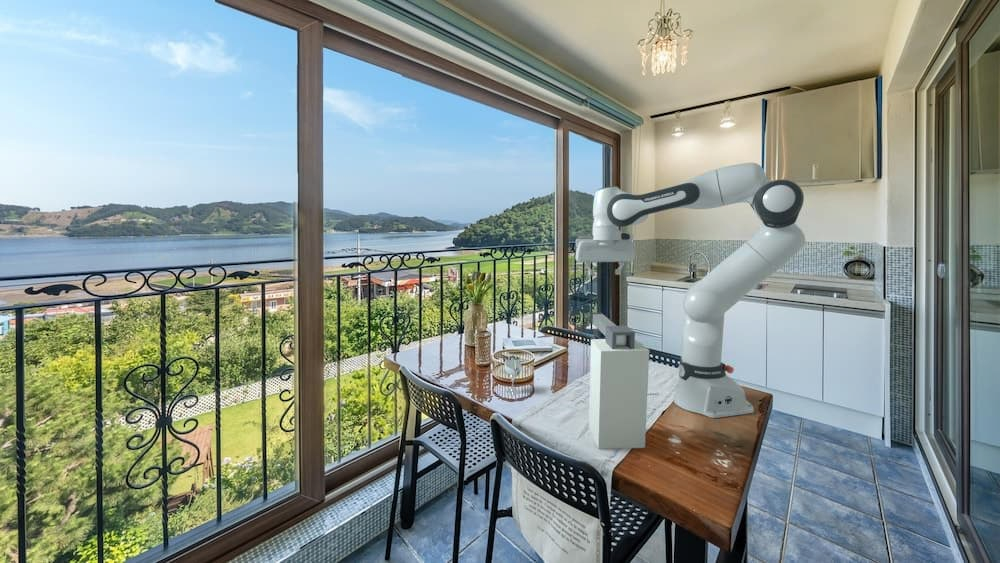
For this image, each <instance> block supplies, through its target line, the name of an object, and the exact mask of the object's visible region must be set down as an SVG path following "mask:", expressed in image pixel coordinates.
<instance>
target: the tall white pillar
mask: <svg viewBox="0 0 1000 563" xmlns="http://www.w3.org/2000/svg"><path fill="white" fill-rule="evenodd" d="M617 335H627V346H616V336H617ZM604 337H605V338H597V339H596V338H594V339H593V338H591V339H590V357H589V358H590V364H589V366H590V367H589V404H588V406H589V407H588V408H589V409H588V411H589V412H588V430H589V432H590V435H591V436H592V439H593V441H594V443H595V444H596V447H597V449H598V450H606V449H607V450H609V449H610V448H616V449H644V448H646V431H647V414H648V413H647V410H648V409H647V407H648V389H649V388H648V387H649V386H648V385H649V368H650V367H649V363H650V349H648V348H647V347H646V346H645V345H643V344H642V343H641V342H640V341H638V339H636V338H635V337H636V331H634V330H633V329H632V328H631V327H629V326H628V325H616V326H606V333H605V335H604Z"/></svg>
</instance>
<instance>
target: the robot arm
mask: <svg viewBox="0 0 1000 563" xmlns="http://www.w3.org/2000/svg"><path fill="white" fill-rule="evenodd" d="M804 196H805V195H804V192H803V190H802V188H801V187H800V186H799V184H797V183H796V182H794V181H792V180H788V179H775V180H772V181H769V180H768V179H767V174H766V172H765V169H764V168H763V167H762V166H761V165H760V164H758V163H756V162H746V163H739V164H738V163H737V164H733V165H727V166H724V167H722V166H721V167H720V168H716V169H711V170H710V171H706V172H704V173H701V174H699V175H696V176H694V177H692V178H690V179H687V180H685V181H682V182H681V183H677V184H676V185H673V186H671V187H665V188H663V189H658V190H654V191H651V192H647V193H642V194H631V193H628V192H626V191H623V190H622V189H621V188H619V187H618V186H616V185H615V186H613V185H612V186H605V187H601V188H599V189H597V191H596V192H595V194H594V196H593V197H594V198H593V202H592V205H593V206H592V217H593V223H592V232H591V233H592V235H590V234H589V235H579V236H578V237H576V239H575V241H574V242H575V247H576V250H575V258H574V259H575V261H576V262H578V263H585V266H586V268H587V271H588V276H594V275H595V273H594V272H595V270H594V269H592V268H591V267H590V266H592V265H591V264H592V263H617V262H618V263H617V264H618V265H619V266H618V268H615V270H614V274H615V275H617V276H620V275H621V274H622V269H623V267H624V266H625V263H626V262H634V260H635V259H636V248H635V246H636V245H635V244H634V242H633V241H632V240H633V239H634V235H633V233H629V232H627V231H624V230H620V228H621V227H622V228H623V227H627V226H637V225H639V224H641V223H643V222H645V220H647V218H648V217H649V215H652V214H656V213H660V212H664V211H667V210H673V209H674V210H675V209H690V210H691V209H692V210H706V209H715V208H721V207H725V206H729V205H733V204H738V203H746V204H747V203H748V204H749V205H750V207H751V208H752V210H753V211H754V213H755V215H756V217H757V218H758V219H759V220H761V221H762V226H761V228H760V229H759V230H758V231H757V232H756V233H755V234H754V235H753V236H752V237H750V239H748V240H747V241H746V242H744V243H743V244H742V245H741V246H739V247H738V248H737V249H736V250H734V252H732V253H731V254H730V255H728V256H727V257H726V258H725V259H723V260H722V261H721V262H720V263H719V264H718V265H717V266H716V267H714V268H713V269H712V270H711V271H710V272H709V273H707V274H706V275H705V276H704V277H703V278H702V279H698V280H696V281H695V282H693V283H692V284H690V286H689V287H688V289H687V291H686V293H685V294H684V296H683V301H682V306H683V309H684V318H683V319H684V320H683V330H682V342H681V356H680V358H679V364H678V376H679V378H678V383H677V386H676V390H675V393H674V395H673V400H672V401H673V402H674V404H675V405H676V406H678V407H680V408H681V409H683V410H685V411H688V412H691V413H692V412H693V413H695V414H696V413H697V414H700V415H704V416H706V417H707V418H712V419H717V418H725V417H734V416H739V415H741V416H742V415H749V414H754V413H755V409H754V406H753V405H752V404H751V403H750V402H749V401H748V400H747V399H746V393H745V390H744V389H743V387H742V386H741V385H740V384H739V383H737V382H736V381H735V380H734V379H733V378H732V377H730V376H729V375H727V373H728V374H733V373H734V372H735V369H734V367H733V366H731V365H729V364H725V363H724V362H722V353H723V352H722V351H723V339H724V326H725V325H724V324H725V313H726V312H728V311H729V310H730V309H731V308H733V306H735V305H736V304H737V303H738V302H739V301H741V299H743V298H744V297H745V296H746V295H747V294H748V293H749V292H751V291H752V290H753V289H754V288H756V287H757V286H758V285H759V284H761V283H762V282H764V281H765V280H766V279H768V278H769V277H770V276H772V275H773V274H775V273H776V272H777V271H778V270H779V269H781V268H782V267H784V265H785V264H787V263H788V262H789V261H790V260H792V259H793V258H794V257H795V256H796V255H797V254H798V253H799V251H800V250H801V249H802V248H803V247H804V245H805V244H806V236H805V234H804V232H803V230H802V229H801V228H800V227H799V226H798V225H797V223H796V222H797V220H798V216H799V214H800V212H801V210H802V208H803V205H804V201H805V197H804ZM726 372H727V373H726Z"/></svg>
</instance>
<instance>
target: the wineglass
mask: <svg viewBox="0 0 1000 563" xmlns="http://www.w3.org/2000/svg"><path fill="white" fill-rule="evenodd" d="M504 359H505V360H504V365H503V367H504V368H503V370H504V373H505V375H507V376H508V377H511V379H510V380H511V388H509V389H507V390H505V391H506V394H508V395H517V394H519V393H520V390H519V389H517V388H514V382H515V377H517V376H519V375H520V373H522V372H521V371H522V363H521V359H520V357H519V356H516V355H509V356H506V357H505V358H504Z"/></svg>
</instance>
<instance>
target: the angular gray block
mask: <svg viewBox="0 0 1000 563" xmlns="http://www.w3.org/2000/svg"><path fill="white" fill-rule="evenodd" d="M590 323H591V324H593V325H594V327H596V329H597V330H598V331H600V333H601V334H603V335H604V336H605V333H606V326H617V325H616V324H615V323H614V322H613V321H612V320H610V319H609V318H608V317H607V316H606V315H604V314H603V312H591V313H590ZM616 346H627V335H617V336H616Z"/></svg>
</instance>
